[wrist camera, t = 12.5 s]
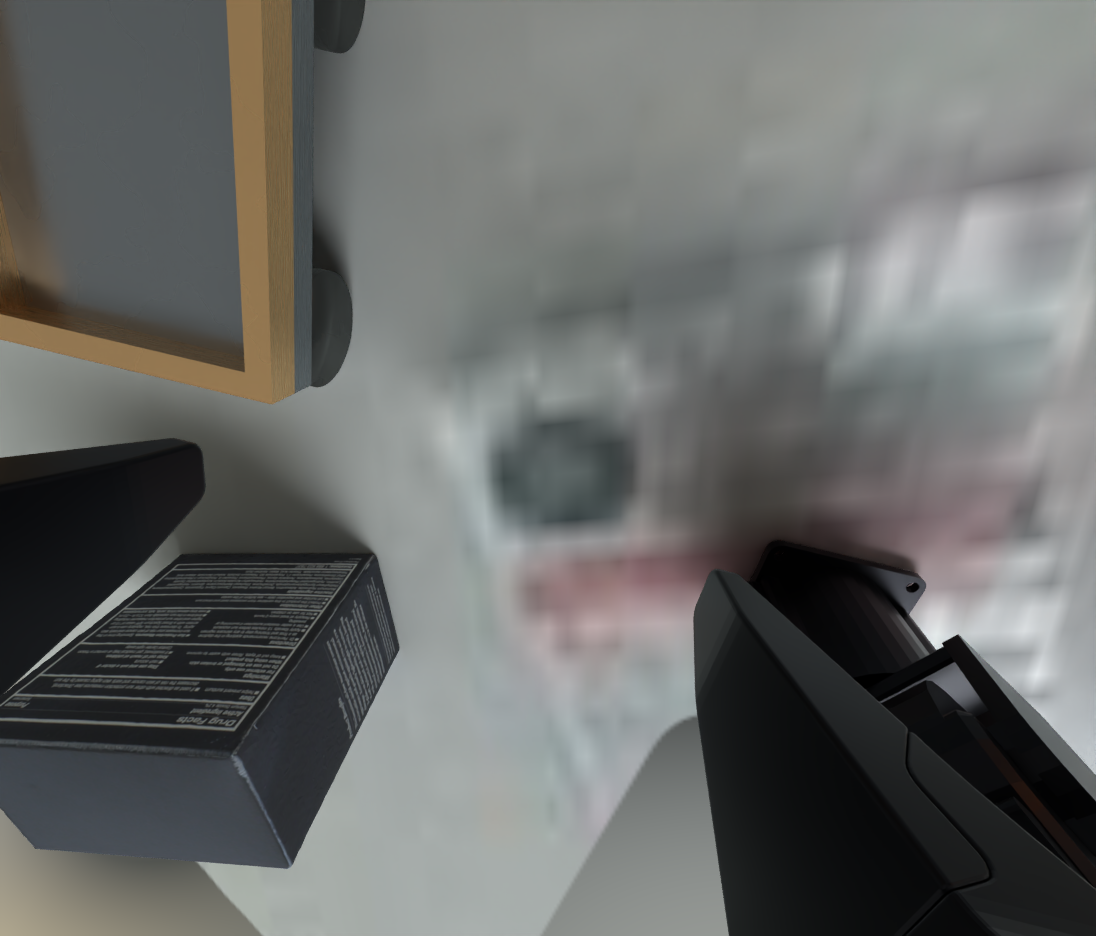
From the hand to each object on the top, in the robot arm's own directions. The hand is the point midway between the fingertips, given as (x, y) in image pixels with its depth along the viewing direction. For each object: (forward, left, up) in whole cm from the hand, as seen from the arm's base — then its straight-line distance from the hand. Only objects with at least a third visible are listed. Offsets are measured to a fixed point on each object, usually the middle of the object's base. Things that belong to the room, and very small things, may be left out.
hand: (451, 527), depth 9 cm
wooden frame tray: (+12, -5, -12) cm, 18 cm away
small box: (+10, +15, -12) cm, 22 cm away
